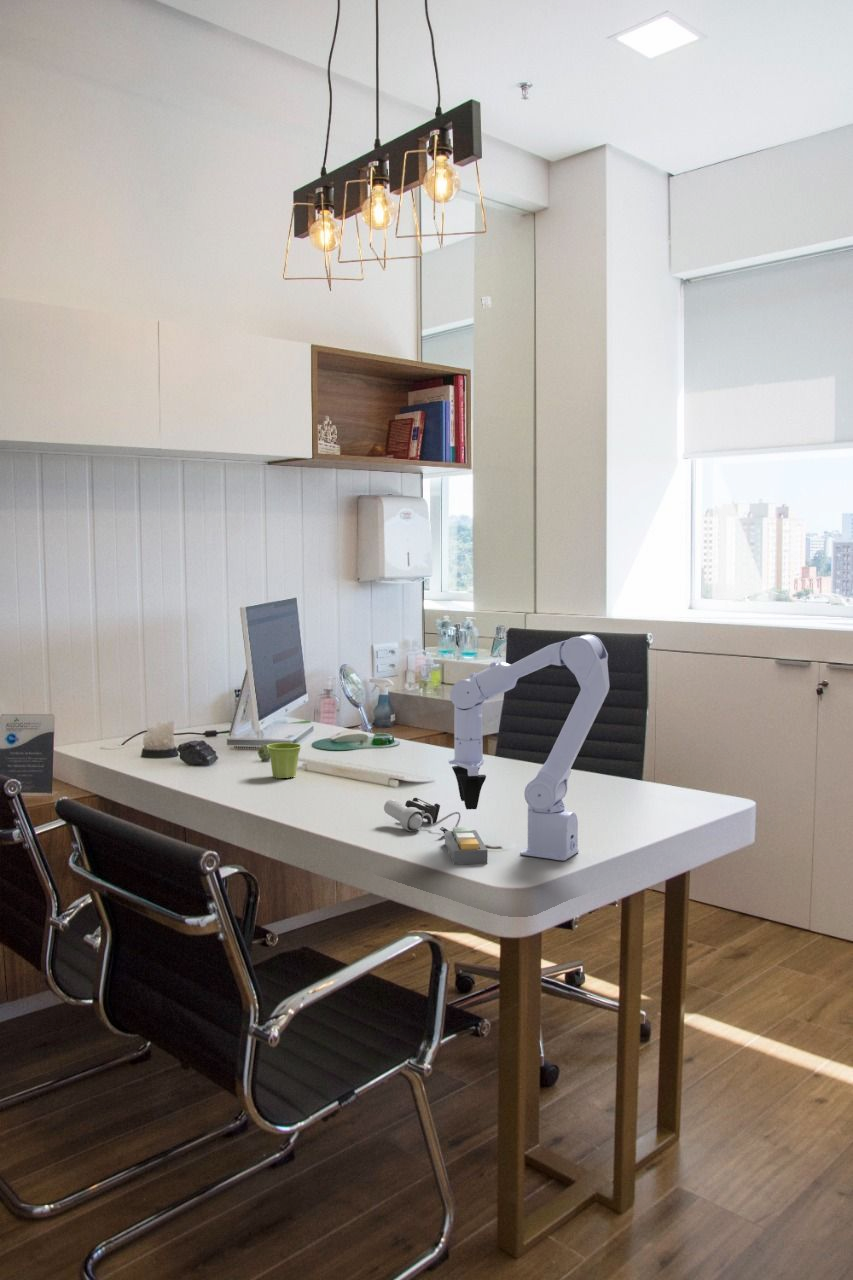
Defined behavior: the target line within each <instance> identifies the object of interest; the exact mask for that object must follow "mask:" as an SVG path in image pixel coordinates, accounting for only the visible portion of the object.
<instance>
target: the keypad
mask: <svg viewBox="0 0 853 1280" xmlns="http://www.w3.org/2000/svg"><path fill="white" fill-rule="evenodd" d="M471 831H472V833H473V834H474V836H475V839H477V841H478V843H479V849H470V850H460V849H459V843H456V837H453V830H448V831H445V834H444V845H445V847H446V849H447V851H448V853H449V855H450V859H451V861H452V862H453V863H452V864H454V865H476V864H477V865H478V864H482V865H483V864H488V849H487V847H486V844H485V843H484V841H483V840H482V839H481V836H480V835H479V833H478V831H477V830H476V829H471Z"/></svg>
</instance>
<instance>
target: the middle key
mask: <svg viewBox="0 0 853 1280" xmlns="http://www.w3.org/2000/svg"><path fill="white" fill-rule="evenodd" d="M465 839H475V836H474V834H473V833H456V843H459V840H465Z"/></svg>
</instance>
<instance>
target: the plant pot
mask: <svg viewBox="0 0 853 1280" xmlns="http://www.w3.org/2000/svg"><path fill="white" fill-rule="evenodd" d="M266 748H267V749H268V750H267V751H268V754H269V758H270V764H271V772H272V778H275V777H276V778H275V779H277V778H287V779H288V778H289V779H291V778H290V777H294V776H296V775H297V768H298V759H299V754H300V751H301V749H302V744H300V743H295V742H277V743H276V742H275V743H269V744H267V745H266ZM294 778H295V777H294Z"/></svg>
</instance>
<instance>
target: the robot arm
mask: <svg viewBox="0 0 853 1280" xmlns="http://www.w3.org/2000/svg"><path fill="white" fill-rule="evenodd" d="M608 659H609V653H608V652H607V649H606V647H605V645H604V644H603V642H602V640H601V639H600V638H599V637H598V636H596V635H594V634H590V633H589V634H587V633H586V634H583V635H580V636H573V637H570V638H569V639H567V640H562V641H558V642H555V643H552V644H548V645H547V646H545V647H543V648H540V649H538V650H537V651H535V652H533V653H531V654H529V655H527V656H525V657H523V658H521V659H520V660H518V661H516V662H514V663H512V664H511V663H508V662H505V661H500V662H498V661H493V662H492V663H490V664H489V666H490V667H487V668H486V669H484V670H481V671H479V672H478V673H477V672H472V673H470V674H469V678H467V679H465V678H464V679H459V680H458V681H457V682H455V683H454V684H453V685H452V686H451V688H450V692H449V698H450V700H451V703H452V704H453V705H454V712H453V713H454V716H453V719H454V720H453V722H454V723H453V724H454V725H453V726H454V727H453V729H454V733H453V734H454V736H453V737H454V738H453V739H454V740H453V741H454V742H453V743H454V747H453V748H454V751H453V752H454V753H453V754H454V755H453V756H454V758H452V759H451V758H450V759H448V764H449V765H452V767H451V769H452V771H453V772H454V775H455V779H456V781H457V787H458V793H459V798H460V800H461V802H464V803H463V804H464V806H465V809H466V810H477V808H478V805H479V799H480V794H481V791H482V787H483V785H484V782H485V781H486V779H487V775H486V774H479V771H480V767H481V766H483V765H484V762H485V760H484V758H483V757H484V756H483V753H484V752H483V750H484V749H483V747H484V746H483V745H484V743H483V740H484V739H483V733H484V732H483V729H484V728H483V725H484V724H483V723H484V722H483V720H484V719H483V703H484V702H485V701H489V700H491V699H493V698H495V697H497V696H499V695H501V694H504V693H506V692H508V691H510V690H512V689H514V688H515V687H516V686H517V682H518V680H519V679H520V678H522V677H525V676H527V675H529V674H531V673H533V672H536V671H539V670H540V669H543V668H545V667H547V666H550V665H553V666H558V667H561V666H566V668H567V669H569V670H570V672H571V673H572V674H573V675H574V676H575V678H576V681H577V682H578V685H579V687H580V691H579V693H578V696H577V697H576V699H575V701H574V703H573V705H572V707H571V710H570V711H569V714H568V716H567V718H566V720H565V721H564V724H563V726H562V728H561V729H560V733H559V734H558V737H557V738H556V740H555V742H554V744H553V747H552V748H551V751H550V752H549V755H548V757H547V759H546V761H545V762H544V763H543V765H542V767H541V768H539V771H538V773H537V775H536V776H535V777H534V779H532V780H531V781H528V783H527V785H525V789H524V795H523V796H524V799H525V802H526V803H527V848H525V849H523V850H521V851H519V855H520V856H528V857H532V858H533V857H534V858H540V859H541V858H542V859H548V860H555V861H566V860H568V859H569V858H571V857H572V856H575V854H577V853H579V851H580V849H578V846H579V844H578V843H579V842H578V840H579V839H578V835H579V833H578V832H579V831H578V830H579V829H578V827H579V825H578V824H579V823H578V822H579V821H578V816H577V814H576V813H575V812H573V811H569V810H567V809H566V808H565V806H566V805H565V803H564V801H563V799H564V798H565V797H566V795H567V793H568V780H569V777H570V775H571V772H572V771H571V768H572V767H573V765H574V762H575V760H576V758H577V756H578V754H579V752H580V751H581V748H582V746H583V744H584V742H585V740H586V739H587V736H588V734H589V732H590V730H591V729H592V726H593V724H594V722H595V720H596V718H597V716H598V713H599V712H600V710H601V708H602V706H603V703H604V702H605V700H606V698H607V695H608V694H609V691H610V690H609V689H610V677H609V676H610V675H609V667H608V665H609V664H608Z"/></svg>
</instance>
